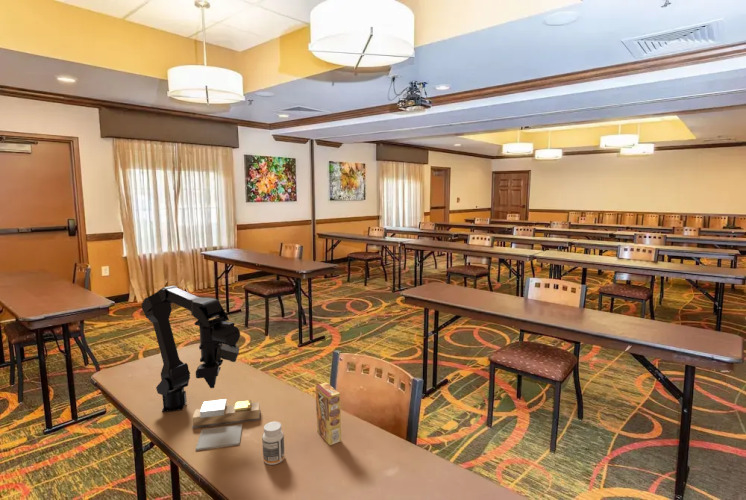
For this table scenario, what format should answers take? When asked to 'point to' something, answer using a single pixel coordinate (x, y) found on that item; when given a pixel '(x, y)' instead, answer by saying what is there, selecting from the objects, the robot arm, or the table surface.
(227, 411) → the body
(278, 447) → the pill bottle
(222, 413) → the cap plate
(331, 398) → the candy box
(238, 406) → the gold flat block
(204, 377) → the robot arm
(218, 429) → the mat
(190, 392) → the table surface
